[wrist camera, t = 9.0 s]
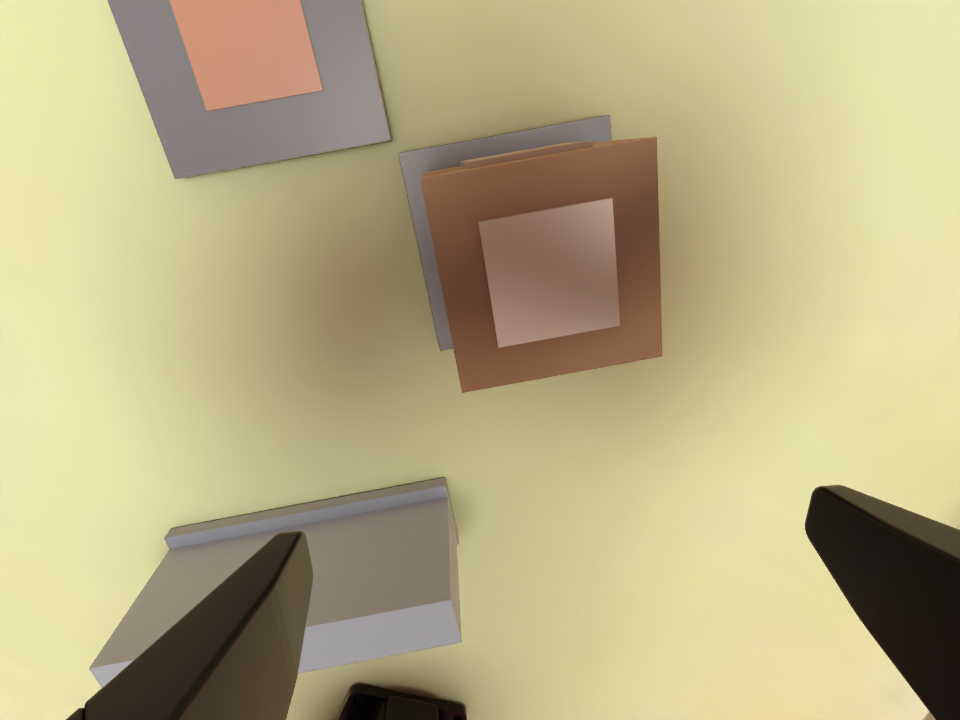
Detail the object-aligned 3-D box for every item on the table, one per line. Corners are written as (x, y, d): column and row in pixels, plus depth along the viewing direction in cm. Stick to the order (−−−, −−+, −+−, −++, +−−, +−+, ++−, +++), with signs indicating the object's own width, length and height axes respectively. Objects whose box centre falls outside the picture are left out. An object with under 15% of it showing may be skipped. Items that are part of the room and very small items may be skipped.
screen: (198, 583, 23) (123, 719, 17) (171, 528, 22) (80, 656, 16) (457, 534, 23) (464, 653, 18) (444, 477, 22) (447, 586, 16)
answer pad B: (392, 140, 17) (390, 139, 16) (183, 178, 17) (173, 179, 16) (334, -129, 14) (329, -143, 13) (85, -86, 14) (69, -98, 13)
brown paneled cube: (601, 301, 19) (664, 358, 14) (455, 328, 19) (462, 395, 13) (589, 137, 17) (658, 129, 11) (424, 166, 17) (418, 172, 11)
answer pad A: (616, 312, 20) (622, 317, 19) (440, 345, 20) (440, 351, 19) (604, 116, 17) (610, 114, 16) (399, 153, 17) (397, 153, 16)
